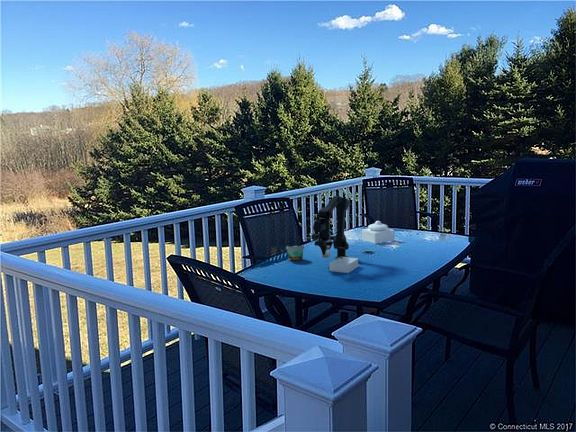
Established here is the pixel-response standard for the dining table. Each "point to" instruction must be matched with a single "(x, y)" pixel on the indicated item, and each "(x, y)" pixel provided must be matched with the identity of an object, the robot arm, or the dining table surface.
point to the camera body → (343, 264)
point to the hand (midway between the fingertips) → (325, 254)
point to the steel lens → (327, 252)
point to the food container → (295, 253)
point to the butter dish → (378, 233)
